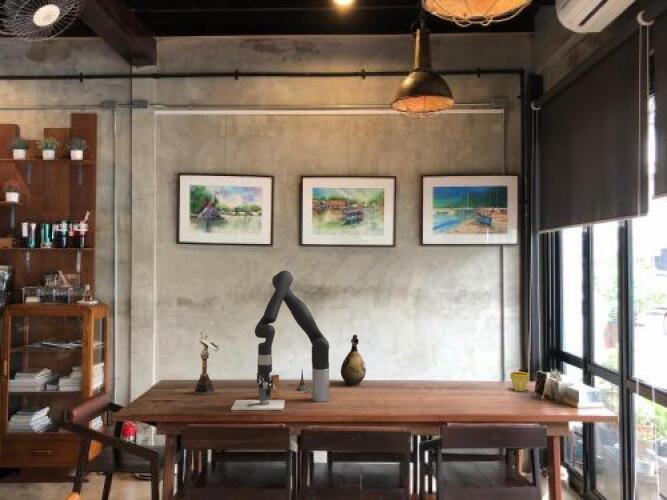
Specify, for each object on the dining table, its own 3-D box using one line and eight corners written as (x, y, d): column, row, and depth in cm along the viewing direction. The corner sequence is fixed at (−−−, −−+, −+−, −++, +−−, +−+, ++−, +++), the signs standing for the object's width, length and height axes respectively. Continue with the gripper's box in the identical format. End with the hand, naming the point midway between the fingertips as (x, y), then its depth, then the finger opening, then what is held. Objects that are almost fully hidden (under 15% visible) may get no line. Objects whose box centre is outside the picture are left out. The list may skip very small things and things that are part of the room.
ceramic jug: (366, 387, 333) (366, 337, 333) (340, 387, 333) (340, 337, 333) (365, 380, 350) (365, 333, 350) (340, 380, 350) (340, 333, 350)
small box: (265, 399, 304) (266, 375, 304) (260, 397, 309) (260, 373, 309) (279, 397, 308) (279, 374, 308) (273, 395, 314) (273, 372, 314)
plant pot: (526, 388, 332) (526, 371, 332) (530, 392, 322) (530, 375, 322) (508, 387, 333) (508, 371, 333) (512, 391, 323) (512, 375, 323)
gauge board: (284, 402, 298) (284, 399, 298) (282, 411, 282) (282, 408, 282) (236, 402, 297) (236, 399, 297) (231, 411, 281) (231, 408, 281)
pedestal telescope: (225, 389, 327) (225, 329, 327) (222, 395, 314) (222, 332, 314) (196, 389, 326) (196, 329, 326) (192, 395, 313) (192, 332, 313)
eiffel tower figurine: (308, 394, 318) (308, 370, 318) (291, 393, 320) (291, 370, 320) (314, 388, 333) (314, 365, 333) (297, 387, 335) (297, 365, 335)
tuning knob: (268, 401, 293) (268, 386, 293) (271, 403, 289) (271, 388, 289) (246, 404, 288) (246, 388, 288) (250, 406, 283) (250, 391, 283)
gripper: (252, 361, 294) (252, 392, 294) (264, 366, 282) (264, 398, 282) (265, 360, 298) (265, 390, 298) (277, 364, 286) (277, 396, 286)
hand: (264, 394), depth 290 cm, fingers open, 8 cm apart
